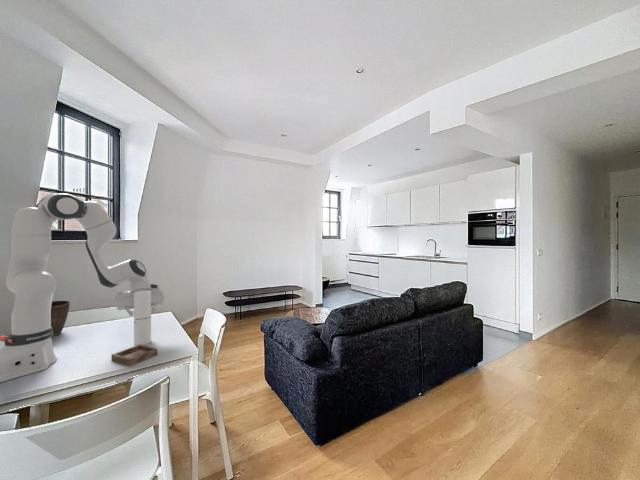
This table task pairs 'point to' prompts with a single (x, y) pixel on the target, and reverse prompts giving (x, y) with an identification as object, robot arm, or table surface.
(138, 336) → the cylindrical container
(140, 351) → the wooden serving tray
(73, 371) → the table surface
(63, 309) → the plant pot
